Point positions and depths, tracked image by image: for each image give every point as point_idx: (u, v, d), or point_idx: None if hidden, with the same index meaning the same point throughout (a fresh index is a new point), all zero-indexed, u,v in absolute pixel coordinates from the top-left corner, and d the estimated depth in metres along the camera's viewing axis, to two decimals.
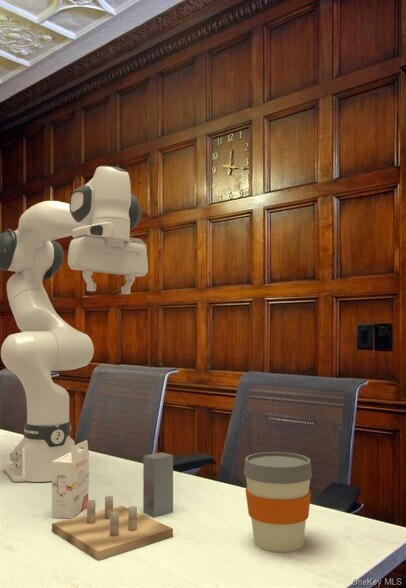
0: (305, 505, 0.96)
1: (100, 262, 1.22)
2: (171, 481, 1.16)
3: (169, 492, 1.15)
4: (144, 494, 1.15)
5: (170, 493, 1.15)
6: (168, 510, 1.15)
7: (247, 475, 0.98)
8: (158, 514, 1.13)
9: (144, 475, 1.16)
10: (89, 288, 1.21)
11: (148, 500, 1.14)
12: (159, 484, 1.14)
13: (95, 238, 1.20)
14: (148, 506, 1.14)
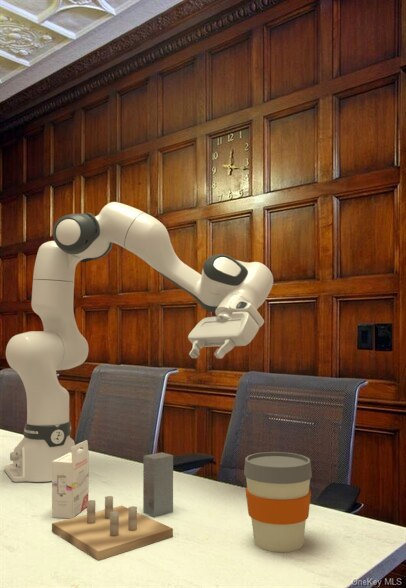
0: (305, 505, 0.96)
1: None
2: (171, 481, 1.16)
3: (169, 492, 1.15)
4: (144, 494, 1.15)
5: (169, 493, 1.15)
6: (168, 510, 1.15)
7: (247, 475, 0.98)
8: (158, 514, 1.13)
9: (144, 475, 1.16)
10: (221, 356, 1.23)
11: (148, 500, 1.14)
12: (159, 484, 1.14)
13: None
14: (148, 506, 1.14)
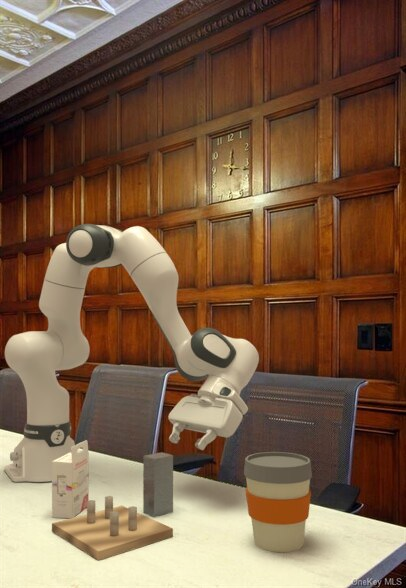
0: (305, 505, 0.96)
1: None
2: (171, 481, 1.16)
3: (169, 492, 1.15)
4: (144, 494, 1.15)
5: (169, 493, 1.15)
6: (168, 510, 1.15)
7: (247, 475, 0.98)
8: (158, 514, 1.13)
9: (144, 475, 1.16)
10: (202, 447, 1.18)
11: (148, 500, 1.14)
12: (159, 484, 1.14)
13: None
14: (148, 506, 1.14)
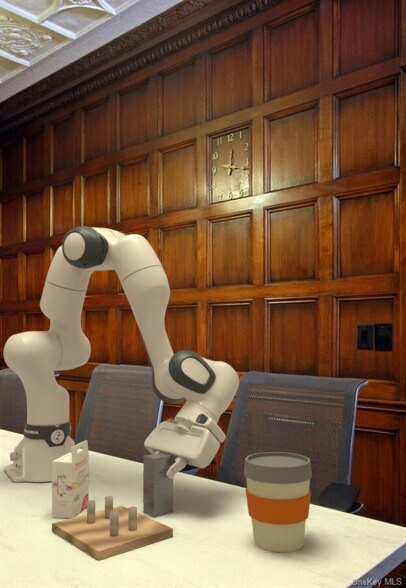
0: (305, 505, 0.96)
1: None
2: (171, 481, 1.16)
3: (169, 492, 1.15)
4: (144, 494, 1.15)
5: (169, 493, 1.15)
6: (168, 510, 1.15)
7: (247, 475, 0.98)
8: (158, 514, 1.13)
9: (144, 475, 1.16)
10: (171, 476, 1.14)
11: (148, 500, 1.14)
12: (159, 484, 1.14)
13: None
14: (148, 506, 1.14)
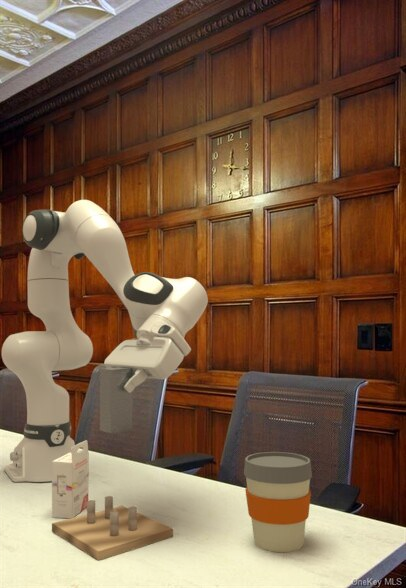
0: (305, 505, 0.96)
1: None
2: (130, 396, 1.06)
3: (128, 407, 1.05)
4: (101, 410, 1.05)
5: (129, 409, 1.05)
6: (126, 427, 1.05)
7: (247, 475, 0.98)
8: (115, 430, 1.03)
9: (101, 389, 1.06)
10: (130, 389, 1.04)
11: (105, 415, 1.04)
12: (116, 397, 1.04)
13: None
14: (104, 422, 1.04)
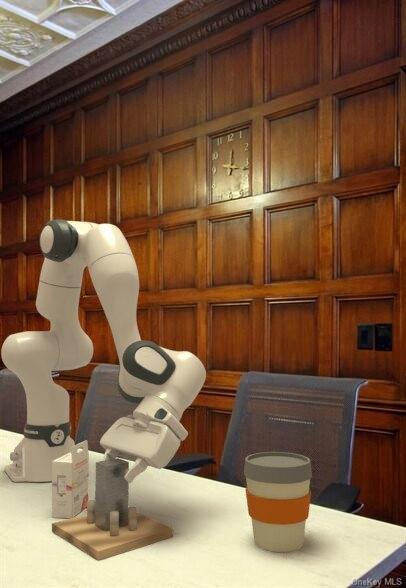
0: (305, 505, 0.96)
1: None
2: (126, 491, 1.04)
3: (124, 502, 1.03)
4: (96, 505, 1.04)
5: (124, 504, 1.03)
6: (122, 523, 1.03)
7: (247, 475, 0.98)
8: None
9: (96, 484, 1.04)
10: (130, 480, 1.01)
11: (100, 511, 1.02)
12: (112, 494, 1.02)
13: None
14: (100, 518, 1.02)
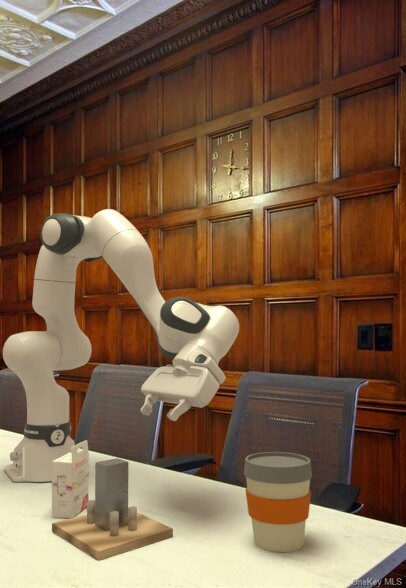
0: (305, 505, 0.96)
1: None
2: (126, 490, 1.04)
3: (124, 502, 1.03)
4: (96, 505, 1.04)
5: (124, 504, 1.04)
6: (122, 523, 1.03)
7: (247, 475, 0.98)
8: None
9: (96, 484, 1.04)
10: (175, 418, 1.08)
11: (99, 511, 1.02)
12: (112, 494, 1.02)
13: None
14: (99, 518, 1.02)
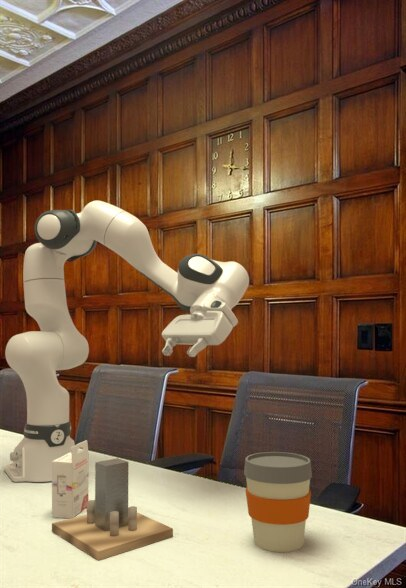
0: (305, 505, 0.96)
1: None
2: (126, 490, 1.04)
3: (124, 502, 1.03)
4: (96, 505, 1.04)
5: (124, 504, 1.04)
6: (122, 523, 1.03)
7: (247, 475, 0.98)
8: None
9: (96, 484, 1.04)
10: (194, 354, 1.23)
11: (99, 511, 1.02)
12: (112, 494, 1.02)
13: None
14: (99, 518, 1.02)
